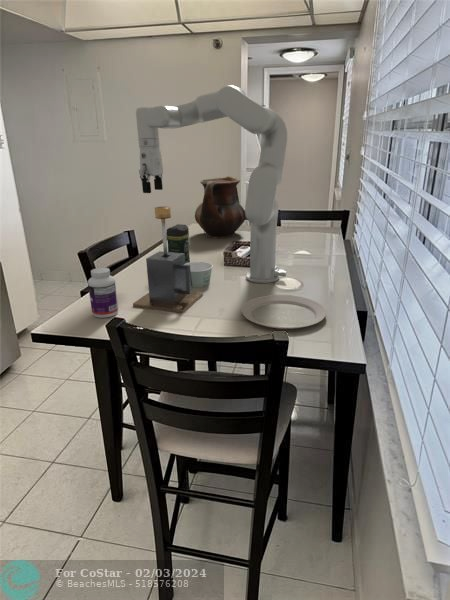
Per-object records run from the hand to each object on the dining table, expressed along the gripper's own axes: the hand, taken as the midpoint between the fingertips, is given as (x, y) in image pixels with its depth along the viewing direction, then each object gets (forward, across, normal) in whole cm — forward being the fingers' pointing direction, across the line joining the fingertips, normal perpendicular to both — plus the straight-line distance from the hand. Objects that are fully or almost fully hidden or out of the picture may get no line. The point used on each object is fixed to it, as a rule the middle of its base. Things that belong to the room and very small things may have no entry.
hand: (153, 191), depth 163 cm
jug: (+32, +67, -4) cm, 75 cm away
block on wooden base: (+32, -30, -18) cm, 48 cm away
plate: (+33, -32, -57) cm, 73 cm away
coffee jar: (+32, +2, -8) cm, 33 cm away
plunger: (+21, -30, -18) cm, 41 cm away
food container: (+32, -10, -21) cm, 40 cm away
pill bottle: (+32, -46, -4) cm, 56 cm away
